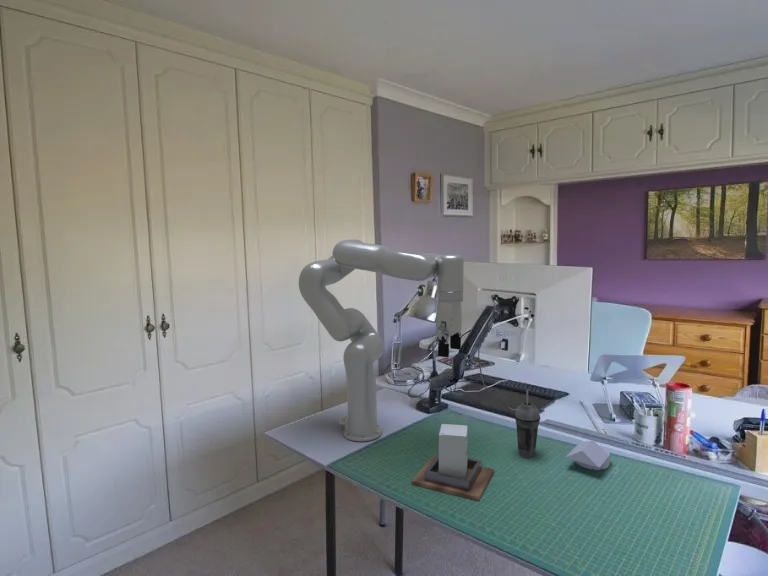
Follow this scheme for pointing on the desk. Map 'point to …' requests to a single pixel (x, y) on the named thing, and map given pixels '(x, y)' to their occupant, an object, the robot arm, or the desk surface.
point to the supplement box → (453, 450)
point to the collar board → (455, 479)
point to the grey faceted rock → (590, 455)
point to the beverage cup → (527, 428)
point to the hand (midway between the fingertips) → (449, 352)
